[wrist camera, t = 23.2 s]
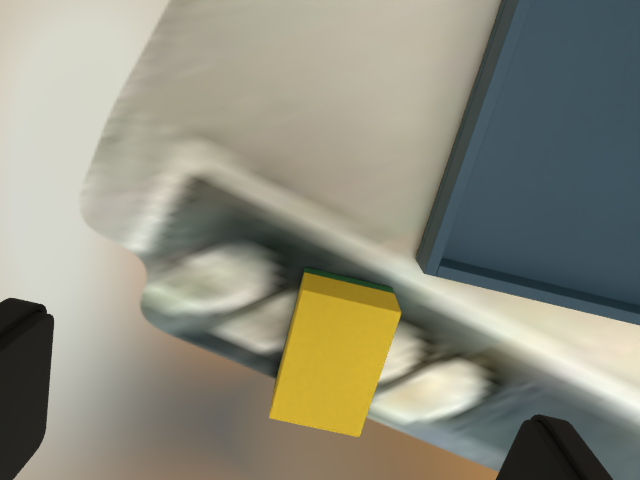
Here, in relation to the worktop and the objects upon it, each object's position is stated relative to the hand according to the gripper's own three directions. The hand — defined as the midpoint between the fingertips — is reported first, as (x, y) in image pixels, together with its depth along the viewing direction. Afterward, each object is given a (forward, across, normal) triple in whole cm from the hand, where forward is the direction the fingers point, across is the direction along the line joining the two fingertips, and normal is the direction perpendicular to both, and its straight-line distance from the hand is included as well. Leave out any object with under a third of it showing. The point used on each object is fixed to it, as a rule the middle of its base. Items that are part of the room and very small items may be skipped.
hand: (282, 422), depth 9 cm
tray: (+22, -18, -9) cm, 30 cm away
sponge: (+22, -4, +10) cm, 25 cm away
